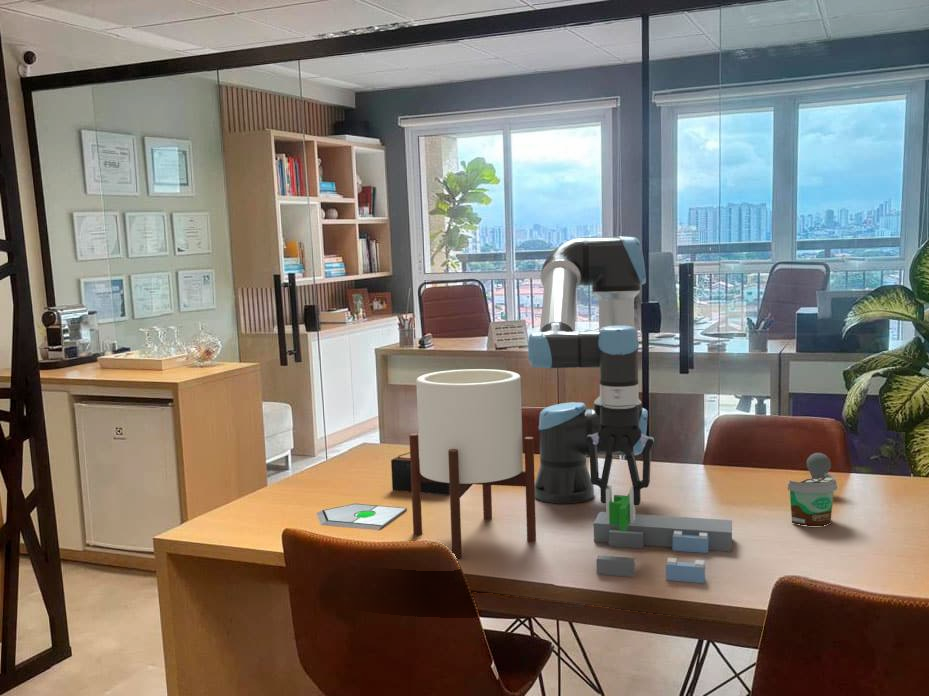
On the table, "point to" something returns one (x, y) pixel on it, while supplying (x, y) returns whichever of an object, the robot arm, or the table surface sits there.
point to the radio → (403, 478)
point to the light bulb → (818, 465)
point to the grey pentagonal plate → (359, 516)
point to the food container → (812, 500)
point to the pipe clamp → (620, 511)
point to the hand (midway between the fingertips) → (620, 519)
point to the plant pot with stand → (470, 441)
